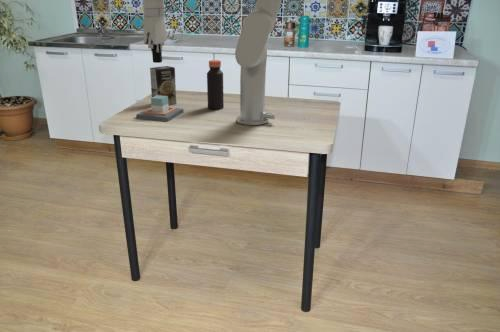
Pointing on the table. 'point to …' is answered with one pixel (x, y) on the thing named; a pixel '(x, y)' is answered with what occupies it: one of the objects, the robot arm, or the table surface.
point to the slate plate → (160, 114)
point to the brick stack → (159, 104)
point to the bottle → (215, 85)
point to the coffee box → (163, 82)
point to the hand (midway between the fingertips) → (157, 62)
